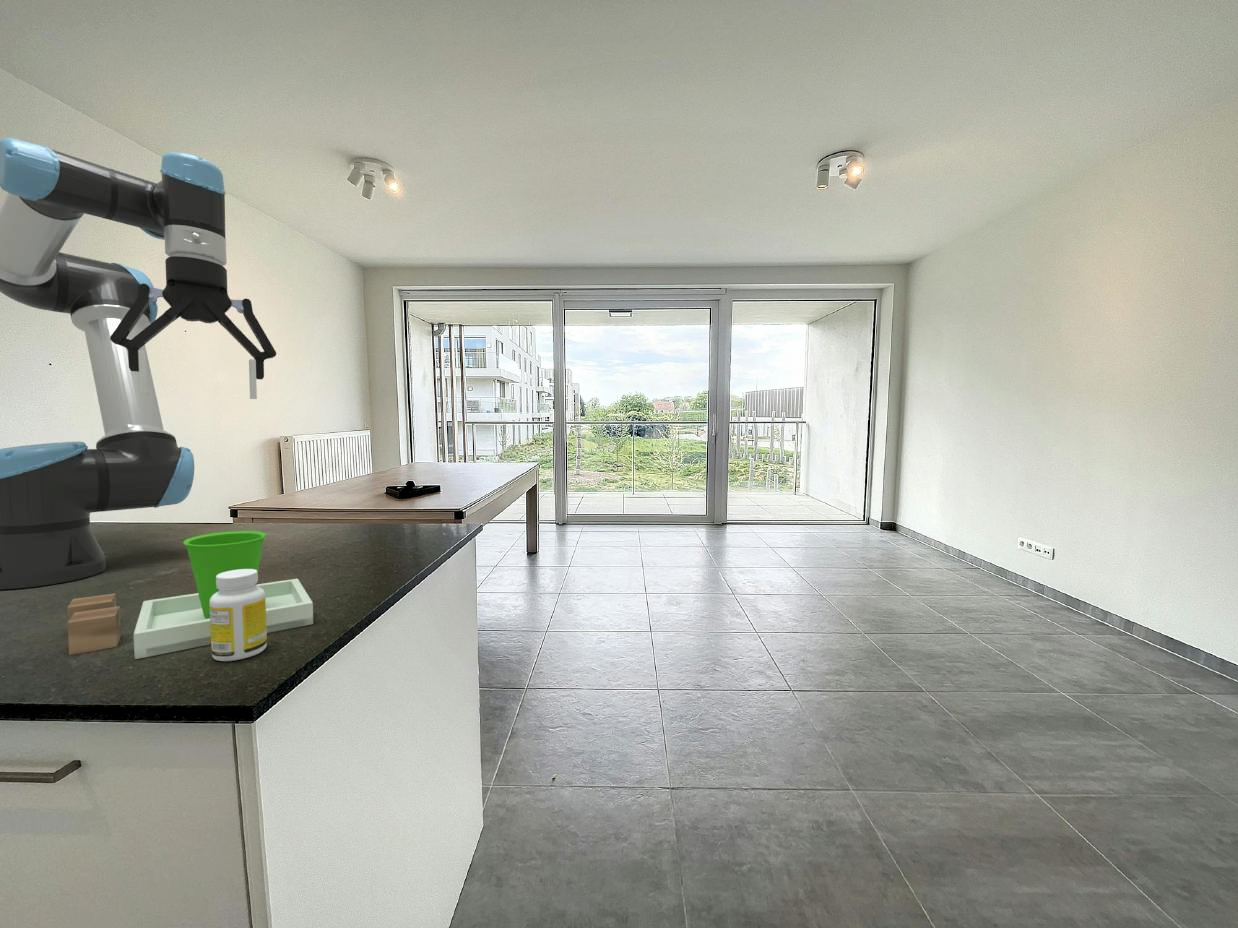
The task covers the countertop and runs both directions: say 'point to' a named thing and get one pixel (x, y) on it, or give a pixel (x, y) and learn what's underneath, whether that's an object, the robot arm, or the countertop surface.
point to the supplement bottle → (237, 616)
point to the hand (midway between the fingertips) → (201, 396)
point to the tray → (186, 627)
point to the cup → (221, 558)
